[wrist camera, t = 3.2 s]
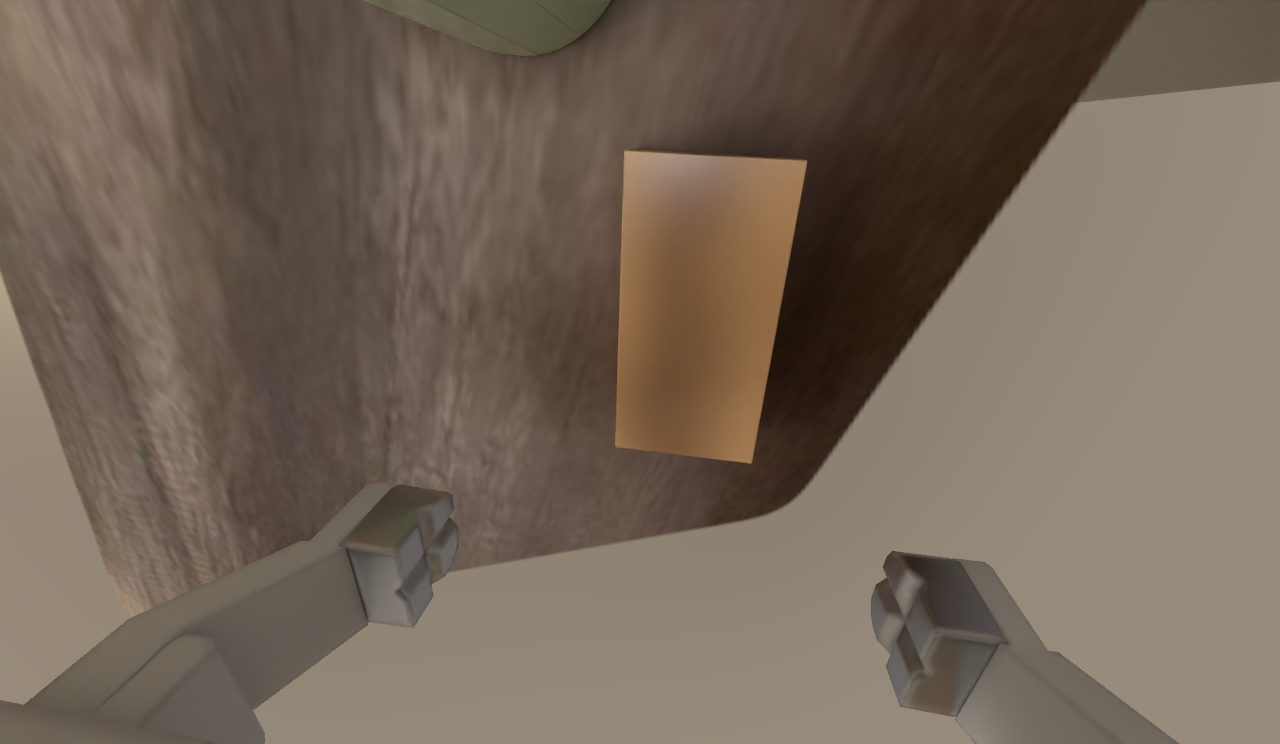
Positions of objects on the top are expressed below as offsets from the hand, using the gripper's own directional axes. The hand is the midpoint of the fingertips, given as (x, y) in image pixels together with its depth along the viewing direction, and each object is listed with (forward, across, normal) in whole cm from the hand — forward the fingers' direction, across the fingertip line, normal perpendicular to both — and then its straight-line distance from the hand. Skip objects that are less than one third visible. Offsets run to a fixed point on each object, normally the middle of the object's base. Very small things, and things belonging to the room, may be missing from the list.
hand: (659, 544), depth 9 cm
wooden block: (+15, 0, 0) cm, 15 cm away
